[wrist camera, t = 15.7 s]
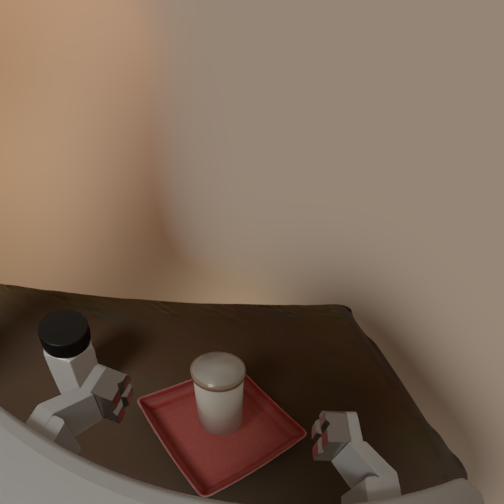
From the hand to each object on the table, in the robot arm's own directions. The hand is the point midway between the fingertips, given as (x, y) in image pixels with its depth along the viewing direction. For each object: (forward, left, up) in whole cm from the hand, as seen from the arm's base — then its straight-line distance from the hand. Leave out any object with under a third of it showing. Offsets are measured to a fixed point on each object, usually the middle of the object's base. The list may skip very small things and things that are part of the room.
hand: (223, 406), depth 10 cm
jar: (-24, +16, -28) cm, 40 cm away
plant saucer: (0, +15, -29) cm, 32 cm away
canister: (0, +15, -25) cm, 29 cm away
